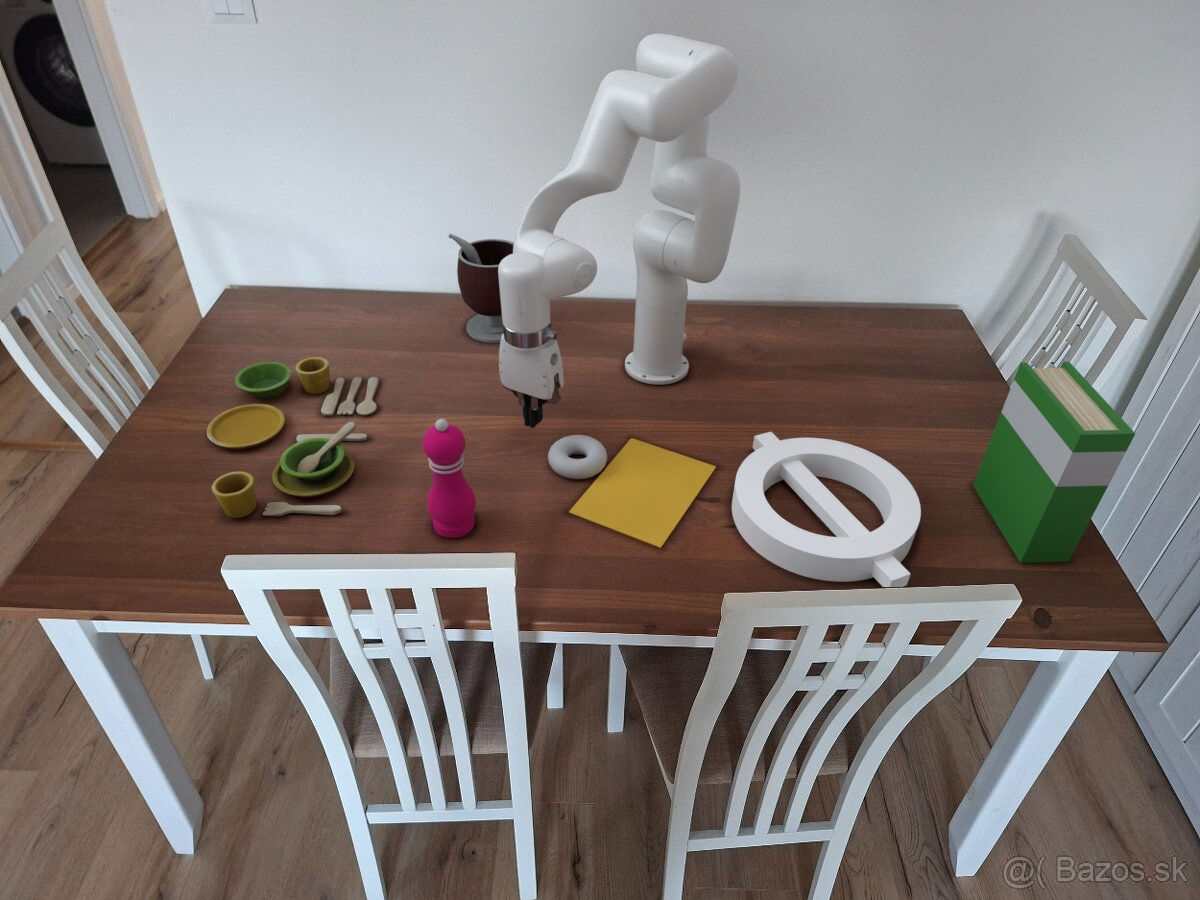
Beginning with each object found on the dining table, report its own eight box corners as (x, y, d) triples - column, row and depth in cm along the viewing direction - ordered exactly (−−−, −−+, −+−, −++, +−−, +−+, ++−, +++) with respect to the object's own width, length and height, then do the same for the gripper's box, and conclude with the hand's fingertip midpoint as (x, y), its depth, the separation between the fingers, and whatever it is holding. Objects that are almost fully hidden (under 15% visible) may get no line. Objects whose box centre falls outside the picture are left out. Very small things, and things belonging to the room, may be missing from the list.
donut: (595, 490, 135) (615, 453, 143) (595, 474, 133) (615, 437, 141) (538, 475, 138) (561, 440, 145) (538, 460, 136) (560, 425, 143)
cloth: (631, 438, 146) (631, 437, 146) (716, 467, 140) (716, 466, 140) (568, 512, 130) (568, 511, 130) (660, 548, 125) (660, 547, 124)
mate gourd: (536, 316, 179) (534, 228, 167) (517, 348, 169) (512, 257, 156) (468, 307, 182) (461, 220, 169) (445, 338, 171) (435, 248, 159)
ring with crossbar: (754, 444, 145) (757, 422, 142) (920, 484, 137) (927, 462, 134) (711, 550, 124) (714, 526, 122) (903, 604, 117) (912, 580, 114)
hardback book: (972, 485, 137) (1020, 362, 122) (1016, 484, 138) (1069, 361, 123) (1020, 562, 124) (1080, 434, 109) (1068, 561, 124) (1135, 433, 109)
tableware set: (342, 522, 128) (335, 491, 124) (159, 524, 127) (145, 493, 123) (387, 375, 160) (382, 347, 156) (241, 376, 159) (232, 348, 155)
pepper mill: (469, 544, 125) (457, 438, 112) (423, 536, 126) (406, 431, 113) (484, 512, 130) (474, 408, 118) (440, 505, 131) (425, 402, 119)
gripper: (580, 331, 131) (582, 423, 143) (500, 309, 136) (508, 399, 148) (555, 354, 126) (560, 448, 137) (474, 330, 131) (485, 422, 143)
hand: (533, 422), depth 143 cm, fingers closed
